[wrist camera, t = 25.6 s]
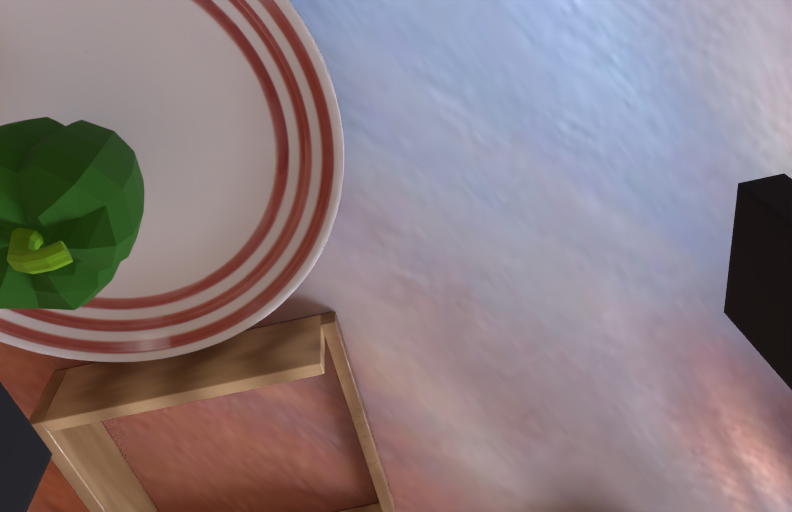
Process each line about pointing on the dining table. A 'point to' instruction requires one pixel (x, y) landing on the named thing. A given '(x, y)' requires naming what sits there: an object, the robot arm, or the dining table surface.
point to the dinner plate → (184, 161)
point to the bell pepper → (64, 211)
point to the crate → (182, 383)
